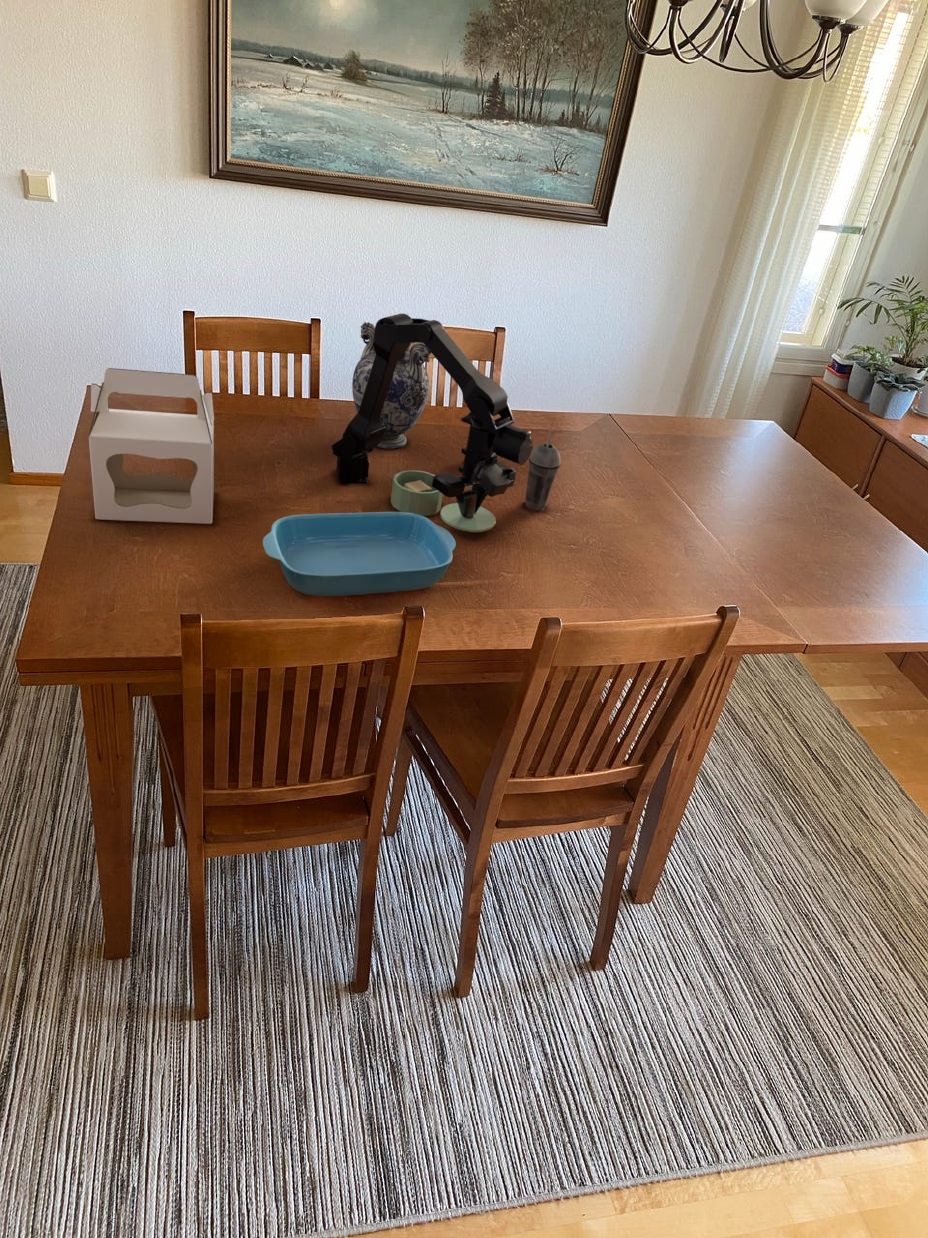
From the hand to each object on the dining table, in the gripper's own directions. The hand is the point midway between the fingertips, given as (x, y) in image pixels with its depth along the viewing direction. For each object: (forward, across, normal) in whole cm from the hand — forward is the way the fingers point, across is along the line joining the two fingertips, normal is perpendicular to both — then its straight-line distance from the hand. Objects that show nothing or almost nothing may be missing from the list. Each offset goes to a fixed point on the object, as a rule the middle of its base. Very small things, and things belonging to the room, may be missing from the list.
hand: (468, 514), depth 191 cm
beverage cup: (+4, +22, +2) cm, 23 cm away
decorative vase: (+4, +11, +45) cm, 46 cm away
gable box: (+4, -54, +34) cm, 64 cm away
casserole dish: (+4, -31, -5) cm, 32 cm away
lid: (+1, 0, 0) cm, 1 cm away
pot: (+4, -4, +13) cm, 14 cm away
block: (+3, -4, +13) cm, 14 cm away
